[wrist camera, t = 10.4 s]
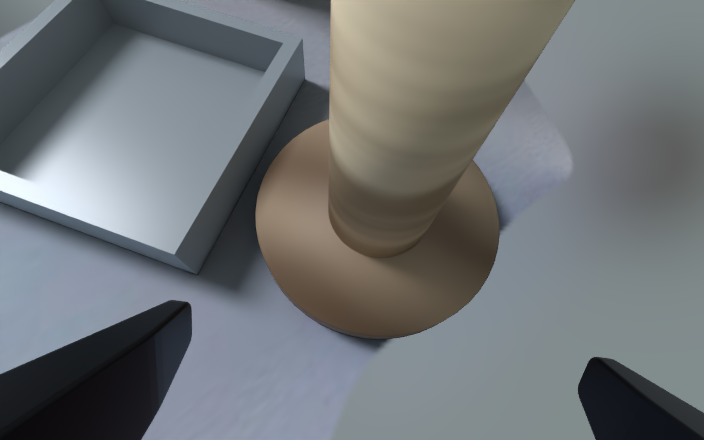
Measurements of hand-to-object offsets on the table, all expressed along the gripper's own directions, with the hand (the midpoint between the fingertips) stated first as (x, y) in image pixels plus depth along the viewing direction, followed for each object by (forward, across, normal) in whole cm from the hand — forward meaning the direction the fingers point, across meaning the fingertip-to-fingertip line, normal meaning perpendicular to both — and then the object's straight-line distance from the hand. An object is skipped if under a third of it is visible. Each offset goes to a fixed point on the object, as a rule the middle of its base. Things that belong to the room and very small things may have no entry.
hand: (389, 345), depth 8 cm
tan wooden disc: (+12, 0, +1) cm, 12 cm away
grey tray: (+14, +13, -2) cm, 20 cm away
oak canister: (+10, 0, 0) cm, 11 cm away
